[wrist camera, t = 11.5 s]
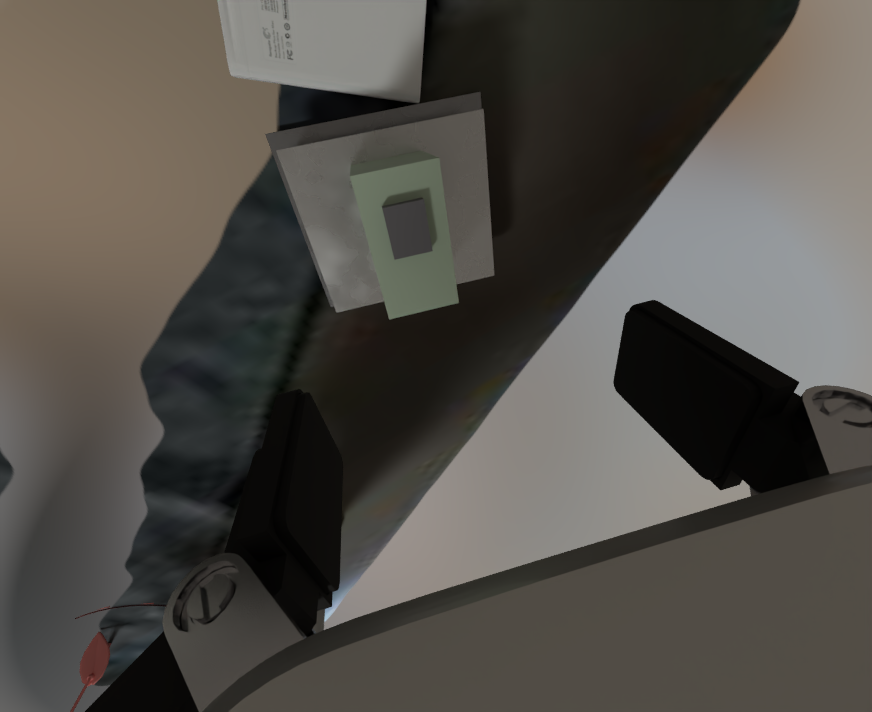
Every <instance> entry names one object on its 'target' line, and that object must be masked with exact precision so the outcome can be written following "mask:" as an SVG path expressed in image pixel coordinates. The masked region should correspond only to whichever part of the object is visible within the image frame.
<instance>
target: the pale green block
mask: <svg viewBox="0 0 872 712" xmlns="http://www.w3.org/2000/svg"><path fill="white" fill-rule="evenodd" d="M350 179H351V182H352V186H353V190H354V193H355V197H356V200H357V204H358V208H359V211H360V215H361V219H362V222H363V226H364V230H365V233H366V237H367V240H368V244H369V248H370V251H371V255H372V259H373V262H374V266H375V270H376V273H377V277H378V280H379V284H380V288H381V291H382V295H383V299H384V302H385V306H386V310H387V313H388V317H389V319H394V318H398V317H402V316H406V315H410V314H415V313H419V312H423V311H427V310H431V309H435V308H440V307H444V306H448V305H452V304H456V303H459V300H458V293H457V286H456V278H455V271H454V263H453V256H452V248H451V241H450V234H449V226H448V219H447V211H446V204H445V197H444V189H443V182H442V174H441V167H440V160H439V157H436V156H434V155H431V154H429V153H426V152H424V151H418V152H413V153H408V154H403V155H398V156H393V157H388V158H384V159H379V160H374V161H369V162H364V163H359V164H355V165H351V167H350Z"/></svg>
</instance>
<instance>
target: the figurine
mask: <svg viewBox="0 0 872 712" xmlns="http://www.w3.org/2000/svg"><path fill="white" fill-rule="evenodd" d="M147 604H154V603H147ZM128 606H167V605H128ZM128 606H120V607H128ZM109 607H110V606H109ZM120 607H112V608H120ZM105 608H107V609H112V608H108V607H105ZM107 609H103V610H107ZM98 611H102V610H98ZM98 611H95V612H98ZM92 613H94V612H92ZM88 614H91V613H88ZM85 615H87V614H85ZM85 615H82V616H85ZM82 616H81V617H82ZM78 618H79V617H78ZM75 619H77V618H75ZM110 645H111V643H107V641H106V639H105V637H104V636H103V634H102V633H101V632H98V633H97V635H96V636H95V637H94V638H93V640H92V641H91V643H90V644H89V646H88V648H87V649H86V651H85V652H84V655H83V657H82V660H81V663H80V675H81V679H82V682H83V683H84V684H85V686H84V688H83V689H82V691H81V693H80V695H79V697H78V698H77V700H76V702H75V704H74V706H73V707H72V709H71V711H70V712H73V711H74V709H75V708H76V705H77V704H78V702H79V700H80V699H81V697H82V695H83V693H84V691H85V689H86V688H87V686H90V685H91V684H92V685H94V684H95V683H96V682H97V681H98V680H99V679H100V678H101V677H102V675H103V673H104V671H105V669H106V667H107V665H108V662H109V657H110V650H109V647H110Z"/></svg>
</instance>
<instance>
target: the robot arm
mask: <svg viewBox="0 0 872 712" xmlns="http://www.w3.org/2000/svg"><path fill="white" fill-rule="evenodd" d="M798 384H799V382H798V381H796V380H795V379H793V378H791V377H789V376H788V375H786V374H784V373H782V372H780V371H779V370H777V369H775V368H774V367H772V366H770V365H768V364H767V363H765V362H763V361H761V360H760V359H758V358H756V357H754V356H753V355H751V354H749V353H747V352H746V351H744V350H742V349H740V348H738V347H737V346H735V345H733V344H732V343H730V342H728V341H726V340H725V339H723V338H721V337H719V336H718V335H716V334H714V333H712V332H710V331H709V330H707V329H705V328H704V327H702V326H700V325H698V324H697V323H695V322H693V321H691V320H690V319H688V318H686V317H684V316H683V315H681V314H679V313H677V312H676V311H674V310H672V309H670V308H669V307H667V306H665V305H663V304H662V303H660V302H658V301H655V300H651V301H647V302H643V303H639V304H636V305H633V306H632V307H631V308H630V310H629V311H628V312H627V313H626V315H625V319H624V325H623V331H622V336H621V342H620V348H619V354H618V359H617V365H616V370H615V376H614V387H615V389H616V391H617V392H618V393H619V394H620V395H621V396H622V397H623V398H624V400H625V401H627V402H628V403H629V405H631V406H632V408H633V409H634V410H636V412H637V413H639V415H640V416H641V417H643V418H644V420H645V421H647V423H648V424H649V425H650V426H651V427H652V428H654V430H655V431H656V432H657V433H658V434H659V435H661V437H663V438H664V439H665V440H666V442H667V443H668V444H669V445H670V446H671V447H672V448H673V449H674V450H675V451H676V452H677V453H678V454H679V455H680V456H681V457H682V458H683V459H684V460H685V461H686V462H687V463H688V464H690V466H691V467H692V468H693V469H694V470H695V471H696V472H698V474H699V475H700V476H702V477H703V478H705V479H707V480H710V481H711V482H713V484H714V485H716V486H717V487H718V488H719V489H720V490H723V489H726V488H730V487H733V486H737V485H740V483H741V481H742V480H744V481H745V482H746V483H747V484H748V485H749V486H750V492H751V497H747V498H744V499H741V500H737V501H734V502H731V503H727V504H724V505H721V506H717V507H714V508H710V509H707V510H704V511H700V512H697V513H694V514H690V515H687V516H684V517H680V518H677V519H673V520H670V521H667V522H663V523H660V524H657V525H653V526H650V527H647V528H643V529H640V530H637V531H634V532H630V533H627V534H624V535H620V536H617V537H614V538H610V539H608V540H604V541H601V542H597V543H594V544H591V545H587V546H584V547H581V548H577V549H574V550H571V551H567V552H564V553H561V554H558V555H554V556H551V557H548V558H545V559H541V560H538V561H535V562H532V563H528V564H525V565H522V566H518V567H515V568H512V569H509V570H505V571H502V572H499V573H496V574H492V575H489V576H486V577H483V578H479V579H476V580H473V581H470V582H466V583H463V584H460V585H457V586H454V587H450V588H447V589H444V590H441V591H437V592H434V593H431V594H428V595H425V596H422V597H419V598H416V599H413V600H410V601H406V602H403V603H400V604H397V605H394V606H391V607H388V608H385V609H382V610H379V611H376V612H373V613H370V614H367V615H364V616H361V617H358V618H355V619H352V620H349V621H347V622H344V623H342V624H339V625H337V626H334V627H331V628H329V629H326V630H324V616H325V609H326V608H329V607H332V592H333V591H336V590H338V588H339V583H340V552H341V517H342V482H343V462H342V458H341V455H340V453H339V451H338V449H337V447H336V444H335V442H334V440H333V438H332V436H331V434H330V432H329V430H328V428H327V426H326V424H325V422H324V420H323V418H322V416H321V414H320V412H319V410H318V408H317V406H316V404H315V402H314V400H313V398H312V396H311V395H310V393H308V392H307V393H303V392H302V391H301V390H300V389H297V390H294V391H290V392H286V393H282V394H279V395H277V397H276V400H275V404H274V407H273V411H272V414H271V418H270V421H269V425H268V428H267V432H266V435H265V439H264V442H263V446H262V448H261V449H258V450H257V451H256V452H255V455H254V457H253V460H252V463H251V466H250V470H249V473H248V476H247V480H246V483H245V486H244V490H243V493H242V496H241V500H240V503H239V506H238V510H237V513H236V516H235V520H234V523H233V526H232V529H231V533H230V536H229V539H228V543H227V546H226V549H225V553H223V554H218V555H215V556H213V557H211V558H209V559H207V560H205V561H203V562H202V563H200V564H199V565H198V566H196V567H195V568H194V569H192V570H191V571H190V572H189V573H188V574H187V575H186V577H185V578H184V579H183V580H182V581H181V582H180V583H179V585H178V586H177V588H176V589H175V590H174V592H173V593H172V595H171V597H170V599H169V601H168V604H167V606H166V608H165V612H164V617H163V628H164V632H163V633H162V634H161V635H160V636H159V637H158V638H157V639H156V640H155V641H154V642H153V643H152V644H151V645H150V646H149V647H148V648H147V649H146V650H145V651H144V652H143V653H142V654H141V655H140V656H139V657H138V658H137V659H136V660H135V661H134V662H133V663H132V664H131V665H130V666H129V667H128V668H127V669H126V670H125V671H124V672H123V673H122V674H121V675H120V676H119V677H118V678H117V679H116V680H115V681H114V682H113V683H112V684H111V685H110V687H108V689H107V690H106V691H105V692H104V693H103V694H102V695H101V696H100V697H99V698H98V699H97V700H96V701H95V702H94V703H93V704H92V705H91V706H90V707H89V708H88V709H87V710H86V711H85V712H872V396H871V395H868V394H866V393H863V392H860V391H856V390H853V389H849V388H844V387H839V386H826V385H825V386H815V387H812V388H809V389H807V390H806V391H805V392H804V393H803V394H802V396H801V397H800V396H799V395H797V394H795V393H794V391H795V389H796V387H797V385H798Z"/></svg>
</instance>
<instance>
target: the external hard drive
mask: <svg viewBox="0 0 872 712" xmlns="http://www.w3.org/2000/svg"><path fill="white" fill-rule="evenodd" d="M426 1H427V0H217V2H218V8H219V14H220V19H221V26H222V32H223V38H224V43H225V49H226V55H227V62H228V67H229V71H230V74H231V75H232V76H234V77H236V78H243V79H250V80H256V81H263V82H270V83H277V84H285V85H292V86H299V87H305V88H312V89H319V90H326V91H333V92H340V93H347V94H354V95H360V96H367V97H374V98H381V99H388V100H395V101H402V102H410V103H417V104H418V103H419V102H420V93H421V78H422V63H423V47H424V32H425V16H426Z"/></svg>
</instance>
